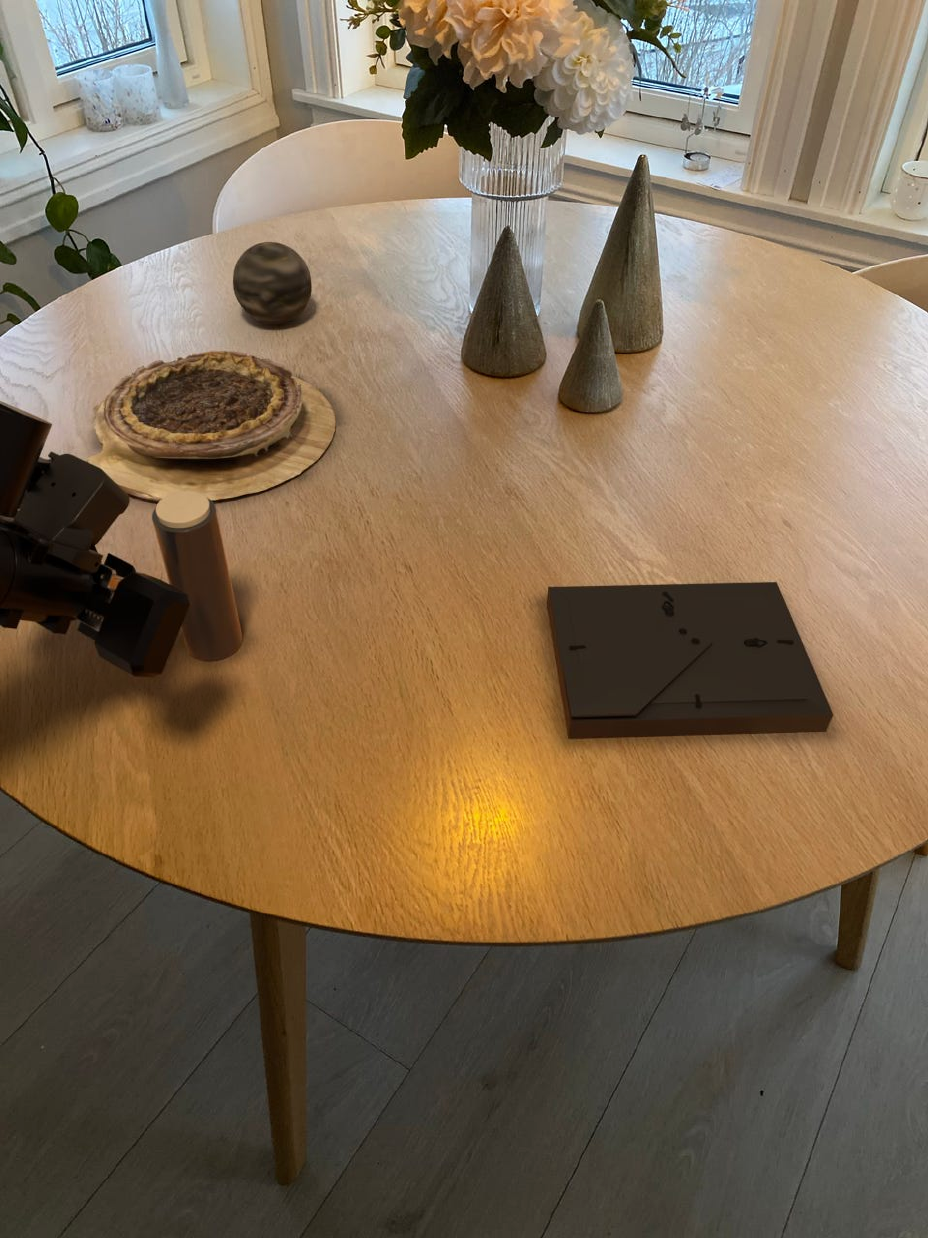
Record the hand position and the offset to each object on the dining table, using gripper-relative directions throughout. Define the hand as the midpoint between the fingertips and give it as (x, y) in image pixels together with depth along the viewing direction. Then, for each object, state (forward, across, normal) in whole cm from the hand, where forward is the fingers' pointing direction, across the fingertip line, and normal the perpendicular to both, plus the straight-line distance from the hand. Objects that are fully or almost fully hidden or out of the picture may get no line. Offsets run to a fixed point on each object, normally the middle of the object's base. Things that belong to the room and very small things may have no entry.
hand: (152, 599), depth 74 cm
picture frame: (+24, -35, -11) cm, 44 cm away
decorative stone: (+44, +35, -31) cm, 64 cm away
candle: (+9, 0, +3) cm, 10 cm away
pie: (+26, +24, -14) cm, 38 cm away
